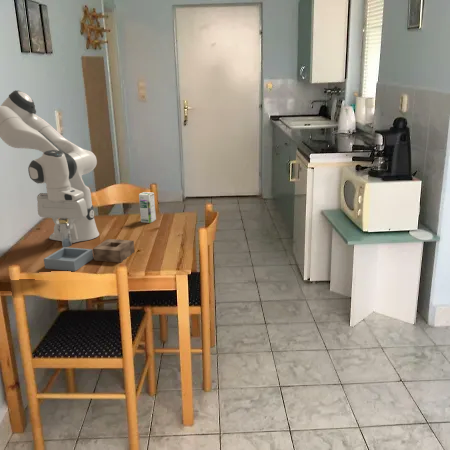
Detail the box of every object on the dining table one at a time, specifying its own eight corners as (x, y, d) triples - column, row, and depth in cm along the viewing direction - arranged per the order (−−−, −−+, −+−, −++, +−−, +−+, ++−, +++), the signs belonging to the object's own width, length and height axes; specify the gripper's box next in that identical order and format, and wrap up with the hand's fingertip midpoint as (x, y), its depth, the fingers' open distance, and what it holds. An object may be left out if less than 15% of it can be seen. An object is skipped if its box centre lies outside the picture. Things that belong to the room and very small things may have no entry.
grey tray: (45, 268, 191) (43, 258, 190) (64, 256, 203) (63, 247, 202) (75, 271, 188) (73, 261, 186) (93, 258, 200) (92, 249, 199)
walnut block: (94, 260, 198) (92, 248, 196) (109, 250, 209) (107, 238, 207) (121, 262, 195) (119, 250, 193) (134, 251, 205) (133, 240, 204)
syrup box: (140, 222, 246) (138, 194, 241) (146, 219, 251) (144, 191, 247) (150, 223, 244) (148, 194, 239) (156, 219, 249) (154, 192, 245)
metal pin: (60, 246, 192) (56, 219, 189) (65, 243, 195) (62, 217, 192) (68, 247, 191) (64, 220, 188) (73, 244, 194) (69, 217, 191)
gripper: (31, 194, 187) (36, 229, 191) (78, 196, 181) (82, 232, 185) (41, 190, 193) (46, 224, 197) (87, 192, 187) (91, 227, 191)
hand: (64, 228), depth 191 cm, fingers closed on metal pin, 3 cm apart
